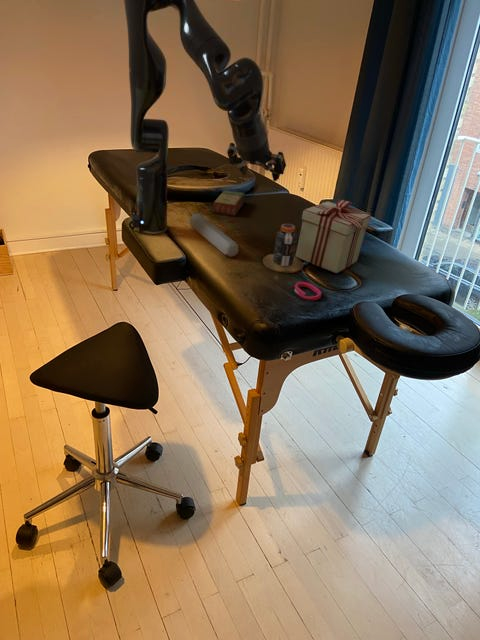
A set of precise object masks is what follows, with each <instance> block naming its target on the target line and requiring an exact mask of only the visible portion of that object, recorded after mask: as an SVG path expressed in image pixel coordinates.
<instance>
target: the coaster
mask: <svg viewBox="0 0 480 640" xmlns="http://www.w3.org/2000/svg"><path fill="white" fill-rule="evenodd" d="M273 256H274V253H270V254H267V255H265V256H264V257H262V265H264V267H266V268H267V269H269V270H271V271H274V272H278V273H283V274H284V273H285V274H291V273H293V274H294V273H298V272H300V271H301V270H303V268H304V261H303V260H302V259H299V258H297V257H295V256H294V259H293V264H292V265H290V266H280V265H277V264H275V263H274V262H273Z"/></svg>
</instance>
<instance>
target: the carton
mask: <svg viewBox="0 0 480 640" xmlns="http://www.w3.org/2000/svg"><path fill="white" fill-rule="evenodd" d="M244 204H245V192H241V191H235V190H234V191H233V190H228V189H227V190H223V191H222V192H221V194H220V195H218V197H217V198H216V199H215V200H214V201H213V211H212V212H213V213H214V214H215V213H216V214H221V215H227V216H236V215H237V214H238V212H239V210H240V209H241V208H242V206H243V205H244Z"/></svg>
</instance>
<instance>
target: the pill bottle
mask: <svg viewBox="0 0 480 640" xmlns="http://www.w3.org/2000/svg"><path fill="white" fill-rule="evenodd" d="M297 241H298V235H297V233H296V226H295V225H294V224H291V223H282V224H281V225H280V230H279V231H277V232H276V235H275V243H274V249H273V254H274V256H273V262H274V263H275V264H277V265H280V266H290V265H292V264H293V259H294V257H295V254H296V248H297Z"/></svg>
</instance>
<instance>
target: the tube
mask: <svg viewBox="0 0 480 640" xmlns="http://www.w3.org/2000/svg"><path fill="white" fill-rule="evenodd" d="M189 226H190V227H191V228H192V229H194V230H195V231H197V233H198V234H200V235H201V236H202V237H203V238H204V239H205V240H207V241H208V242H209V243H210V244H212V245H213V246H214V247H215V248H217V250H219V252H221V253H222V254H223V255H225V256H226V257H228V258H232V257H235V256H236V255H237V254H238V253H239V244H238V243H237V242H236V241H234V240H233V239H232V238H231V237H229V235H227V234H226V233H224V232H223V231H222V230H220V228H218V227H217V226H215V225H214V224H213V223H212V222H210V221H209V220H208V219H207V218H205V216H204V215H203V214H201V213H193V214H192V216H191V217H190V218H189Z"/></svg>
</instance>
